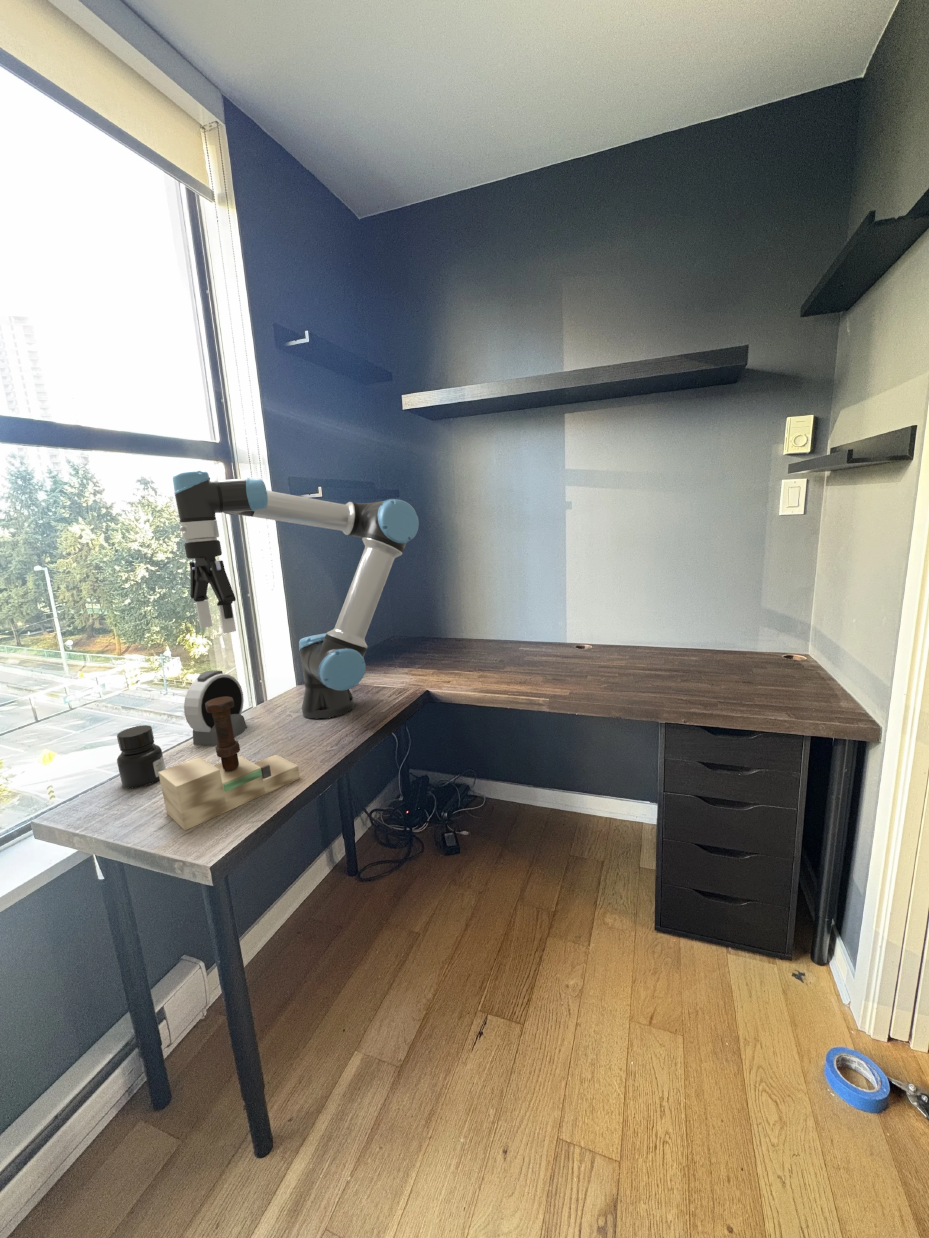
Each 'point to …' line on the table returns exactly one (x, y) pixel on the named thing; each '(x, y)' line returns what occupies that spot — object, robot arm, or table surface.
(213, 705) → the bolt
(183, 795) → the stair stand
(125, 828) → the table surface
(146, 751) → the ink bottle
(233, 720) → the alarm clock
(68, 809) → the table surface
